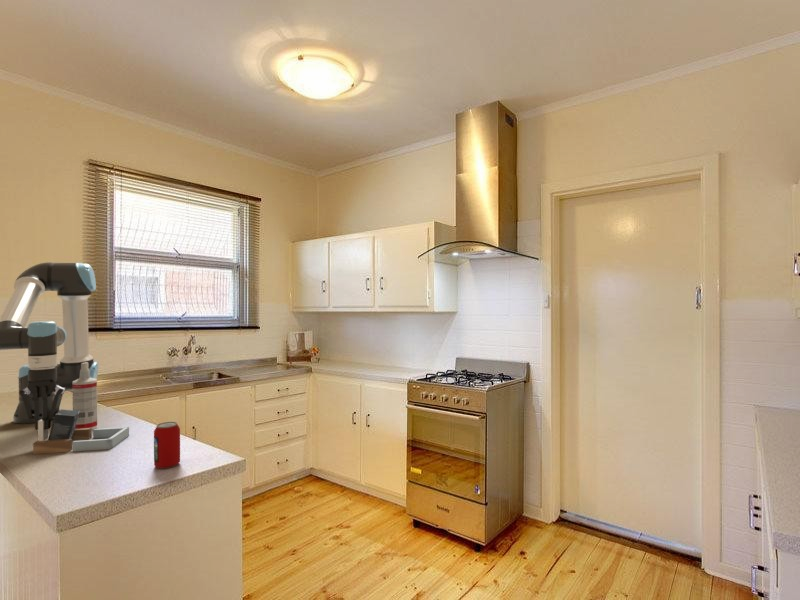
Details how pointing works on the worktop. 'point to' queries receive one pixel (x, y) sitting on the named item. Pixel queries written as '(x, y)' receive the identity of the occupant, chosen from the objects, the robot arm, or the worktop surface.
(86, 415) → the white bottle
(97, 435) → the bay
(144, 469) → the worktop surface
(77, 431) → the brown bar
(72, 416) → the box
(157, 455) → the beverage can
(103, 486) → the worktop surface
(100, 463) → the worktop surface
